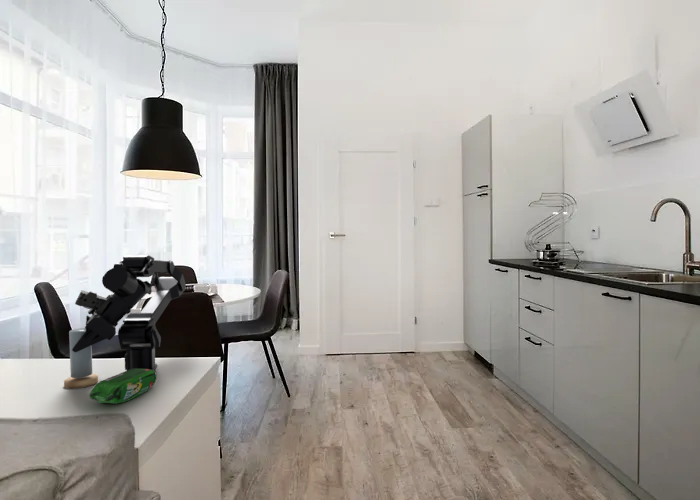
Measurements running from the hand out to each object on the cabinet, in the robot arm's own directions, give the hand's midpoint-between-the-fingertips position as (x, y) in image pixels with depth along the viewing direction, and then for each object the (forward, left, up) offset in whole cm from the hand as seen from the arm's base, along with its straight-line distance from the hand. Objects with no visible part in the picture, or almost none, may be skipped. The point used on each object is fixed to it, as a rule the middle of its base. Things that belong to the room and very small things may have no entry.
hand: (73, 348), depth 103 cm
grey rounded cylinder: (-1, 0, -7) cm, 7 cm away
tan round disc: (-1, 0, -9) cm, 9 cm away
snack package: (-15, +11, -9) cm, 20 cm away
